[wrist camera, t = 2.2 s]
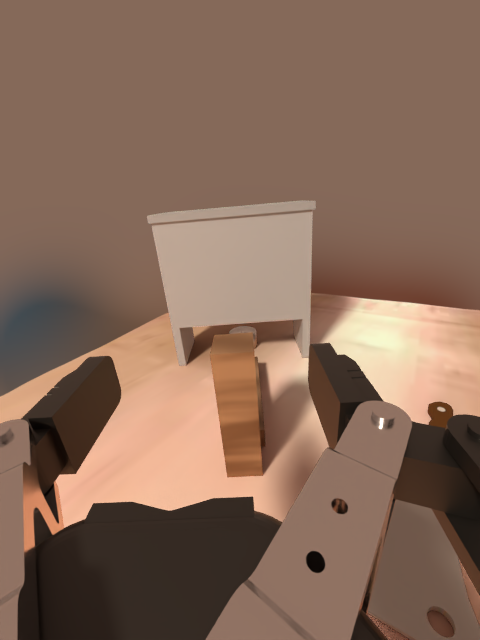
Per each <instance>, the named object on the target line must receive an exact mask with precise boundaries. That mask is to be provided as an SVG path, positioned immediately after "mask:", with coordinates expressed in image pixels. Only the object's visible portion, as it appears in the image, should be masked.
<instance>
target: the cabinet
mask: <svg viewBox="0 0 480 640" xmlns="http://www.w3.org/2000/svg"><path fill="white" fill-rule="evenodd" d="M313 209H315V201H292V202H280V203H269V204H258V205H246V206H235V207H225V208H224V207H223V208H213V209H202V210H189V211H178V212H166V213H160V214H155V215H149V216H147V219H148V224H150V223H151V224H152V230H153V235H154V240H155V245H156V250H157V255H158V260H159V265H160V270H161V275H162V281H163V286H164V291H165V296H166V301H167V306H168V311H169V316H170V321H171V326H172V331H173V337H174V342H175V347H176V352H177V357H178V362H179V366H182V365H186V364H187V361H188V358H189V356H190V353H191V350H192V347H193V344H194V341H195V340H194V334H193V328H192V327H200V326H214V325H228V324H242V323H256V322H270V321H284V320H293V334H294V337H295V339H296V342H297V345H298V347H299V350H300V353H301V355H302V358H304V357H309V346H310V312H311V261H312V210H313Z"/></svg>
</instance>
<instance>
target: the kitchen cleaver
mask: <svg viewBox="0 0 480 640" xmlns="http://www.w3.org/2000/svg"><path fill="white" fill-rule="evenodd" d="M428 414H429V416H430V417H431V419H432V420H431V421H430V422H429V425H431V426H437V427H443V428H446V425H447V422H448V420H449V419H450V418H451V417H453V409H452V407H451V406H450V405H448V404H447V403H443V402H434V403H431V404H429V407H428ZM432 610H434V611H438V612H440V613H441V614H443V615H444V616H445V617H446V618H447V619H448V620H449V622H450V624H451V625H452V628H453V631H454V635H453V636H452V637H450V638H448V637H444V636H441V635H440V634H438V633H437V632H436V631H435V630H434V629H433V628H432V626H431V625H430V623H429V621H428V618H427V613H428V612H429V611H432ZM367 613H368V614H370V615H371V616H373V617H375V618H376V619H378V620H379V621H381V622H383V623H384V624H386V625H387V626H389V627H391V628H392V629H394V630H395V631H397V632H399V633H400V634H402V635H404V636H405V637H407V638H408V639H410V640H480V626H479V624H478V621H477V619H476V616H475V614H474V611H473V609H472V606H471V604H470V601H469V598H468V595H467V591H466V587H465V583H464V579H463V575H462V571H461V567H460V563H459V559H458V556H457V554H456V552H455V550H454V548H453V547H452V545H451V543H450V541H449V539H448V538H447V536H446V534H445V532H444V530H443V529H442V527H441V525H440V523H439V521H438V520H437V518H436V516H435V514H434V512H433V511H432V509H431V508H427V507H423V506H419V505H415V504H412V503H408V502H404V501H400V500H396V503H395V506H394V510H393V514H392V518H391V522H390V525H389V529H388V533H387V537H386V541H385V544H384V548H383V552H382V556H381V560H380V564H379V568H378V572H377V577H376V581H375V585H374V589H373V593H372V597H371V601H370V605H369V608H368V612H367Z"/></svg>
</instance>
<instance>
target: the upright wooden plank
mask: <svg viewBox="0 0 480 640" xmlns="http://www.w3.org/2000/svg"><path fill="white" fill-rule="evenodd" d="M210 358H211V365H212V372H213V379H214V386H215V393H216V400H217V407H218V414H219V421H220V428H221V435H222V442H223V449H224V456H225V463H226V470H227V477H242V476H262V475H263V470H262V456H261V447H262V446H265V434H264V422H263V411H262V401H261V390H260V379H259V369H258V358H257V357H254V343H253V332H250V333H236V334H221V335H214V338H213V343H212V348H211V352H210Z"/></svg>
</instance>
